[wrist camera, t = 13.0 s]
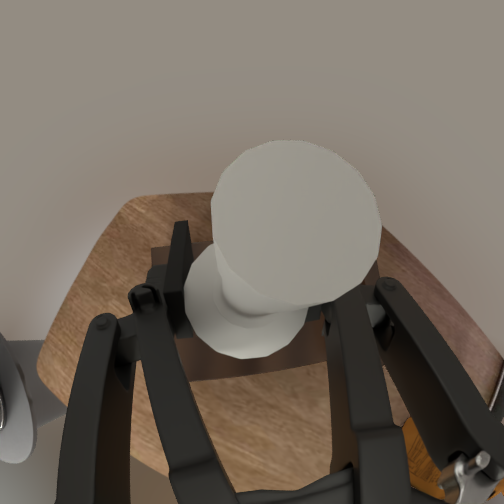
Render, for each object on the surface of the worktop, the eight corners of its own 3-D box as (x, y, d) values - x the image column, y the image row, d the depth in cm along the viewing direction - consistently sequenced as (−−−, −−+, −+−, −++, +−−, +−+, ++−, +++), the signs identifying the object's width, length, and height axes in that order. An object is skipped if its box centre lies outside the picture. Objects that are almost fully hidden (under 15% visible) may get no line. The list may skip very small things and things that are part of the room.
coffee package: (414, 479, 28) (498, 528, 7) (371, 461, 29) (465, 529, 8) (448, 431, 31) (543, 460, 10) (411, 406, 32) (525, 440, 11)
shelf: (175, 373, 31) (143, 404, 17) (162, 260, 34) (126, 221, 21) (332, 350, 33) (391, 362, 20) (315, 242, 36) (361, 199, 23)
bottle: (199, 323, 27) (16, 293, 3) (224, 277, 28) (224, 36, 4) (246, 348, 26) (379, 486, 2) (271, 302, 28) (477, 174, 4)
